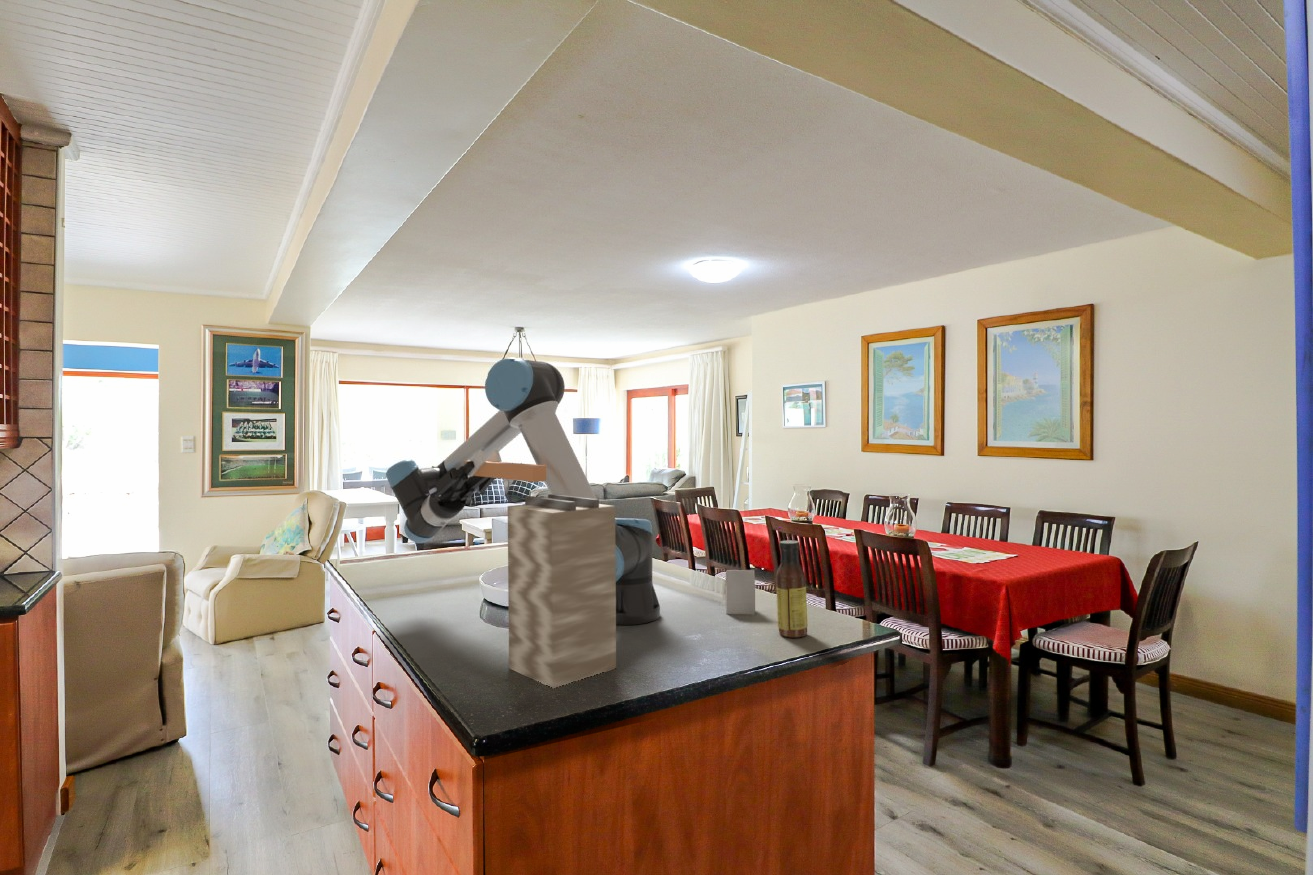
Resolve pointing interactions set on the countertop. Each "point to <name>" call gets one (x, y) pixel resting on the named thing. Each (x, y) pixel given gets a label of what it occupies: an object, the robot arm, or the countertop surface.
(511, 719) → the countertop surface
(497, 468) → the orange bar
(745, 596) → the light grey block
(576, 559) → the grey-brown tall block
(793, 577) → the sauce bottle
